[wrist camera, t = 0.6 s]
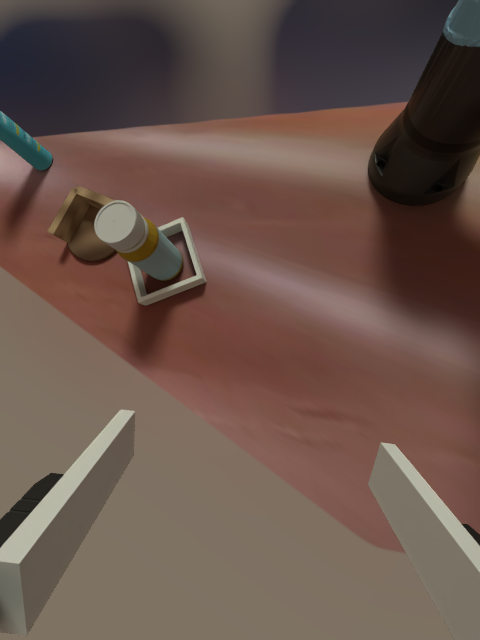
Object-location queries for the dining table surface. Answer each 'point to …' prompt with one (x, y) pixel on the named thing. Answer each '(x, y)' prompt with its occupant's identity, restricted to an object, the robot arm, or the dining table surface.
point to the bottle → (138, 240)
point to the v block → (82, 224)
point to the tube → (24, 144)
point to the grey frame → (178, 287)
